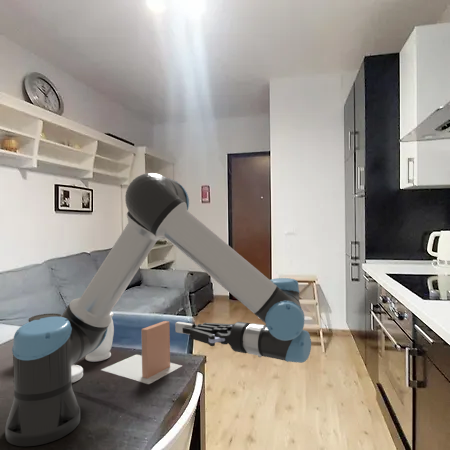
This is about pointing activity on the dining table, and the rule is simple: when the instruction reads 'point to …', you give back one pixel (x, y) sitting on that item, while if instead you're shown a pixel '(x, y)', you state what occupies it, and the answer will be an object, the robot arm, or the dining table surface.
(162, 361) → the tile
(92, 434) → the dining table surface
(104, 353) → the jar
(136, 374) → the mat
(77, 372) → the white bowl
